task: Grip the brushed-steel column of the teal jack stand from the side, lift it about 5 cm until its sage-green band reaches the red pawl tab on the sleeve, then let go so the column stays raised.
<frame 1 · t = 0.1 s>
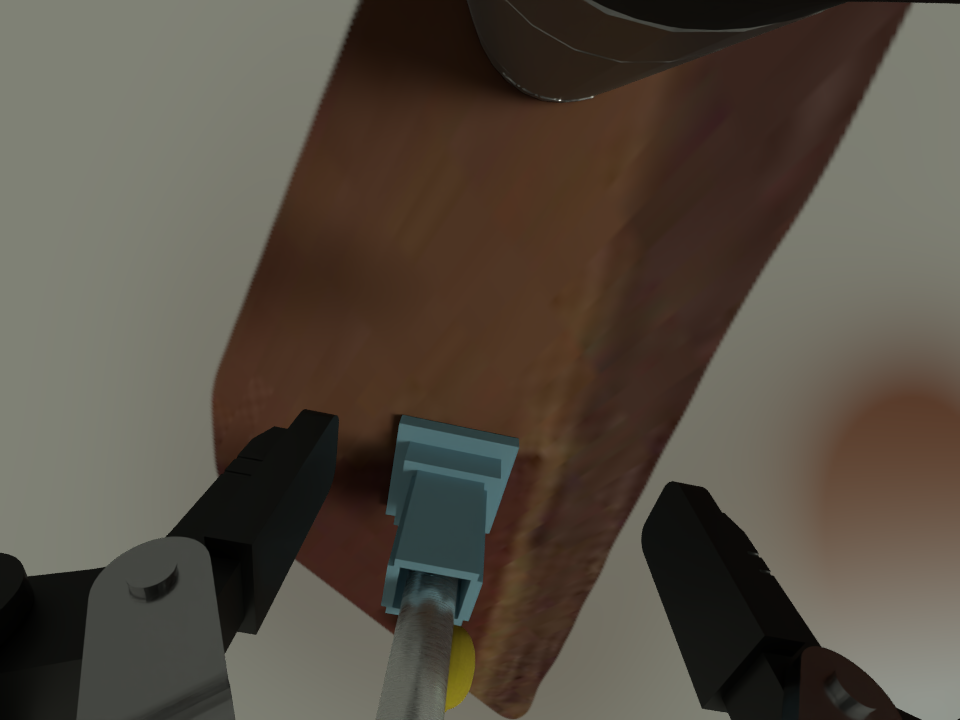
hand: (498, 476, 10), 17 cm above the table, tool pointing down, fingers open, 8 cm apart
lemon: (451, 618, 44), on the table
stand base: (449, 473, 34), on the table
column: (420, 657, 22), point 13 cm above the table, slide at 0.0 cm
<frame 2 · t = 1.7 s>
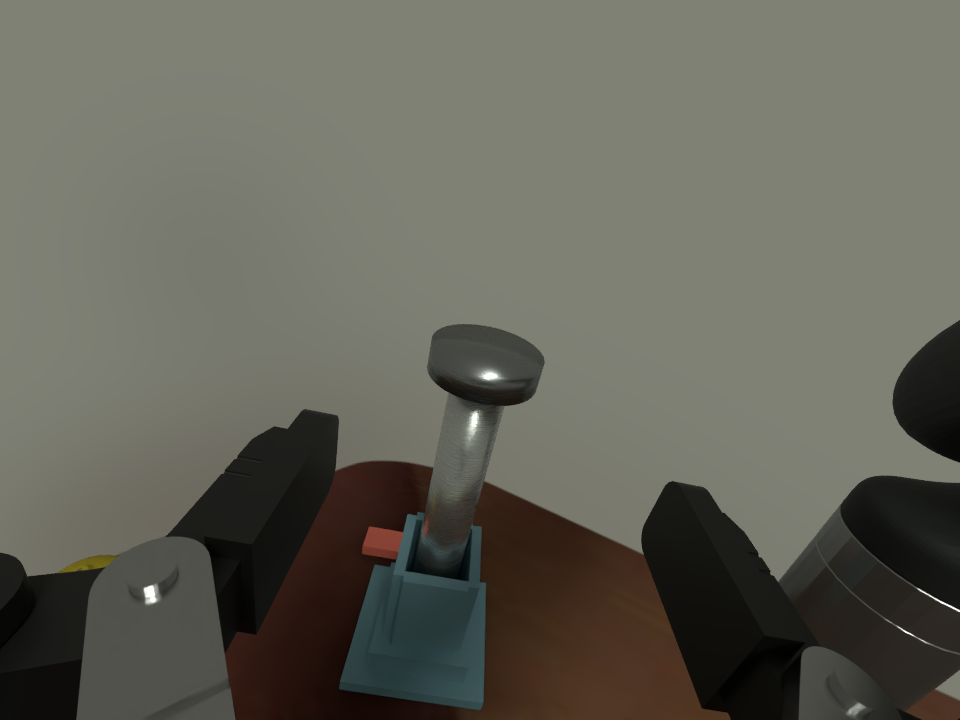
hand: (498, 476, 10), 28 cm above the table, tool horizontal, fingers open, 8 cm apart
lemon: (107, 648, 28), on the table
stand base: (421, 633, 33), on the table
column: (449, 513, 27), point 13 cm above the table, slide at 0.0 cm
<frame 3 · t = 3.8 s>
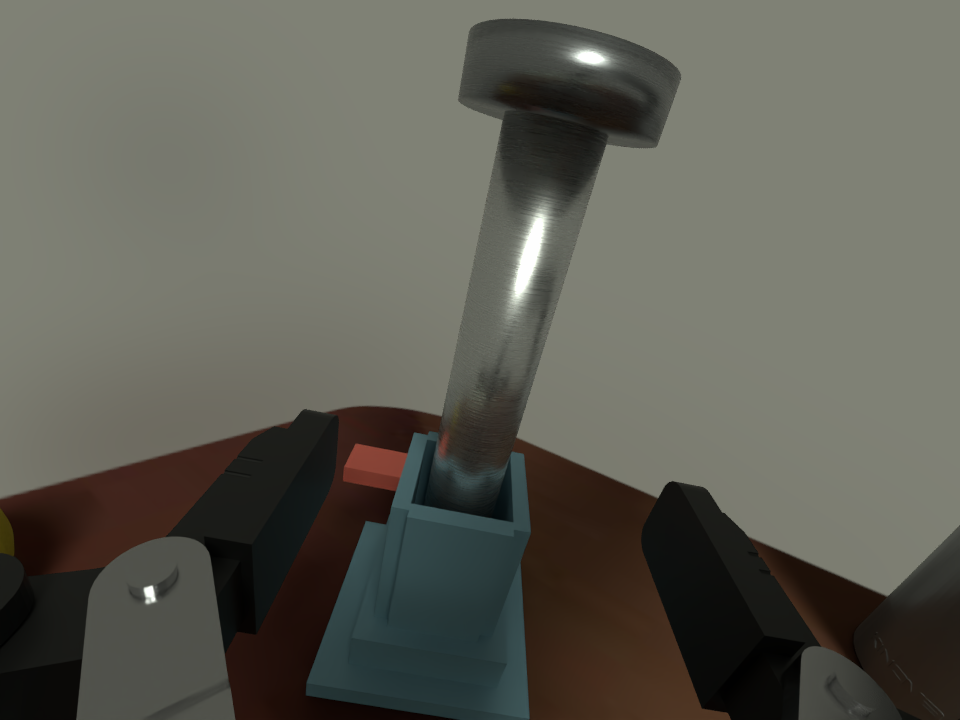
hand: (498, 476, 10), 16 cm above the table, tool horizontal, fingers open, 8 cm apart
stand base: (430, 614, 23), on the table
column: (482, 414, 17), point 13 cm above the table, slide at 0.0 cm
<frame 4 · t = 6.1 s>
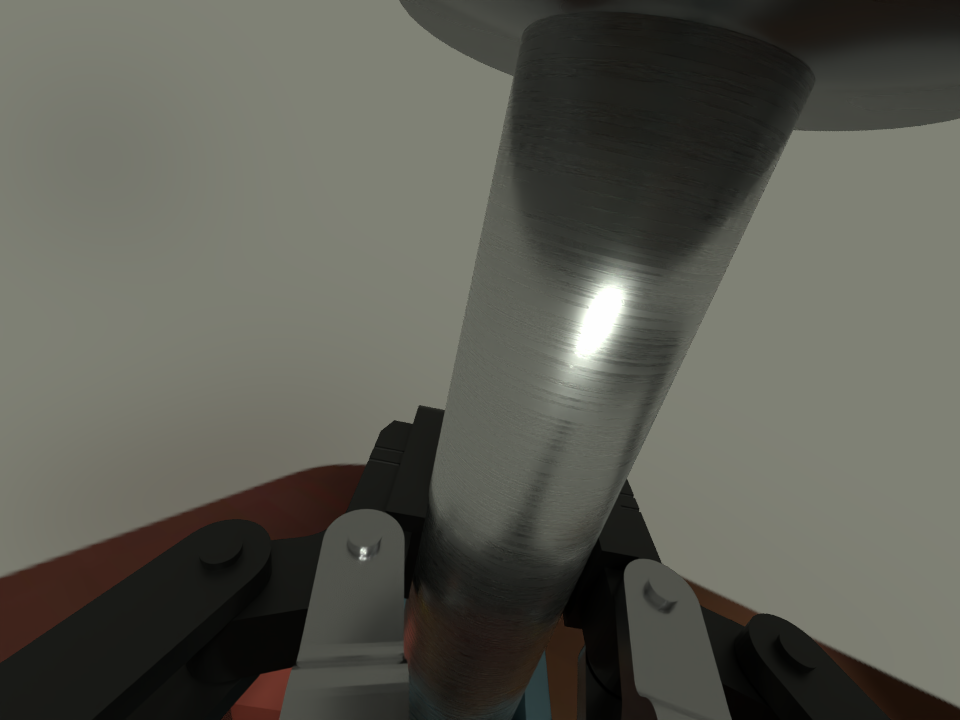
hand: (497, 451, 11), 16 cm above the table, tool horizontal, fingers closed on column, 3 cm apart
column: (473, 619, 9), point 13 cm above the table, slide at 0.0 cm, touching gripper
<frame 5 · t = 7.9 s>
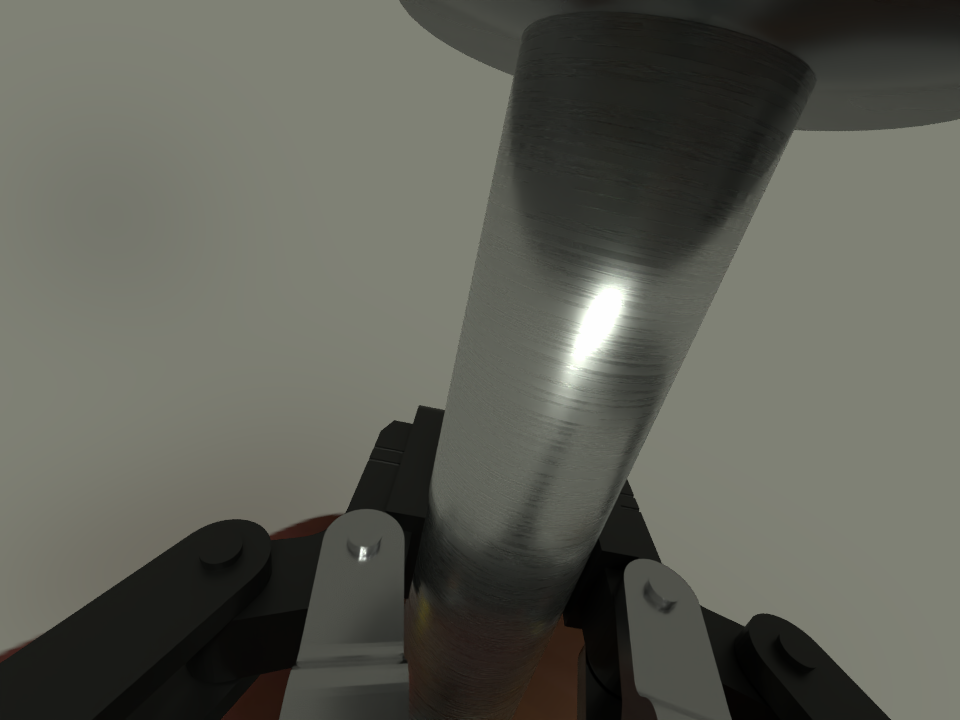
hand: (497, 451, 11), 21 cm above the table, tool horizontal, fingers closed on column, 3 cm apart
column: (473, 619, 9), point 19 cm above the table, slide at 5.3 cm, touching gripper
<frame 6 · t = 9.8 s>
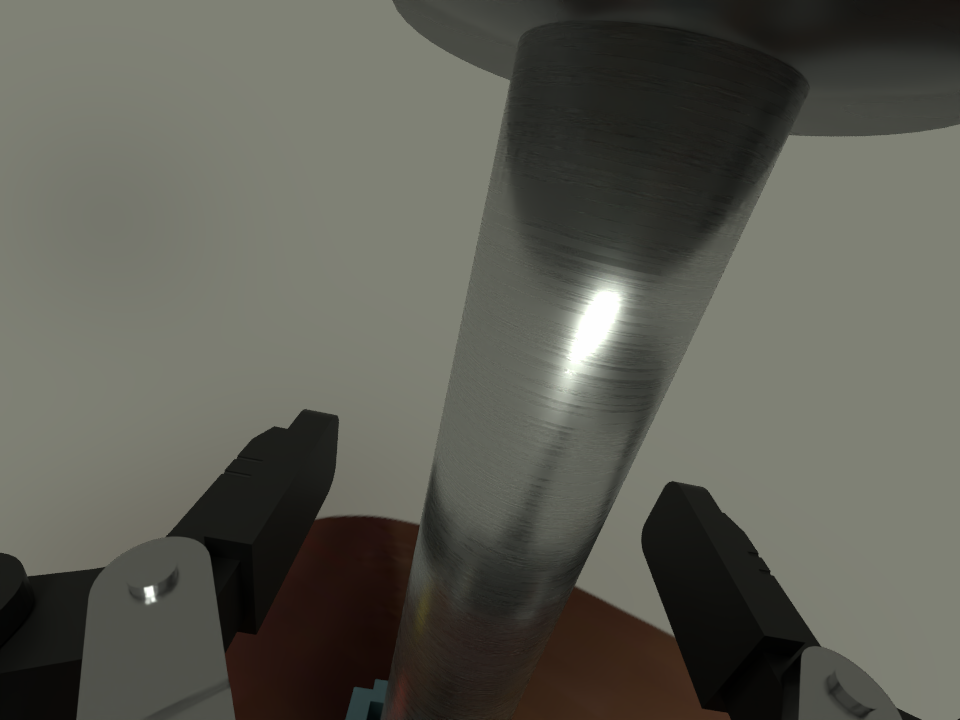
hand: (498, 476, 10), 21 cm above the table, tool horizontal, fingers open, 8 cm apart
column: (471, 622, 9), point 19 cm above the table, slide at 5.4 cm
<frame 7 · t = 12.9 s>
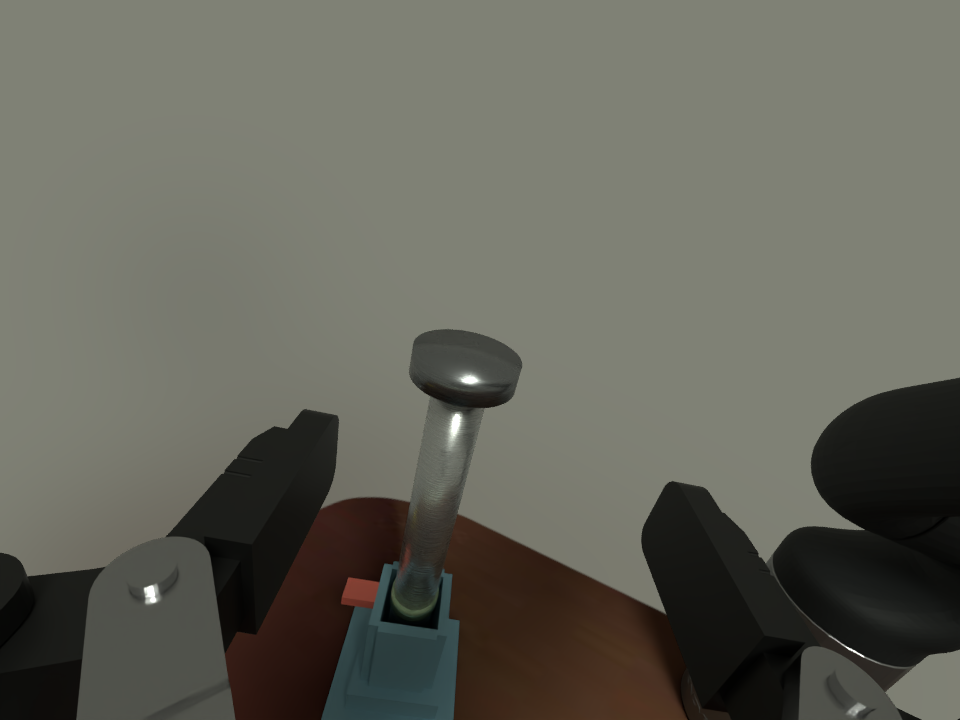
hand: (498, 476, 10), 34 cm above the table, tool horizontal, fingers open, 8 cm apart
stand base: (397, 671, 36), on the table
column: (432, 514, 28), point 19 cm above the table, slide at 5.4 cm
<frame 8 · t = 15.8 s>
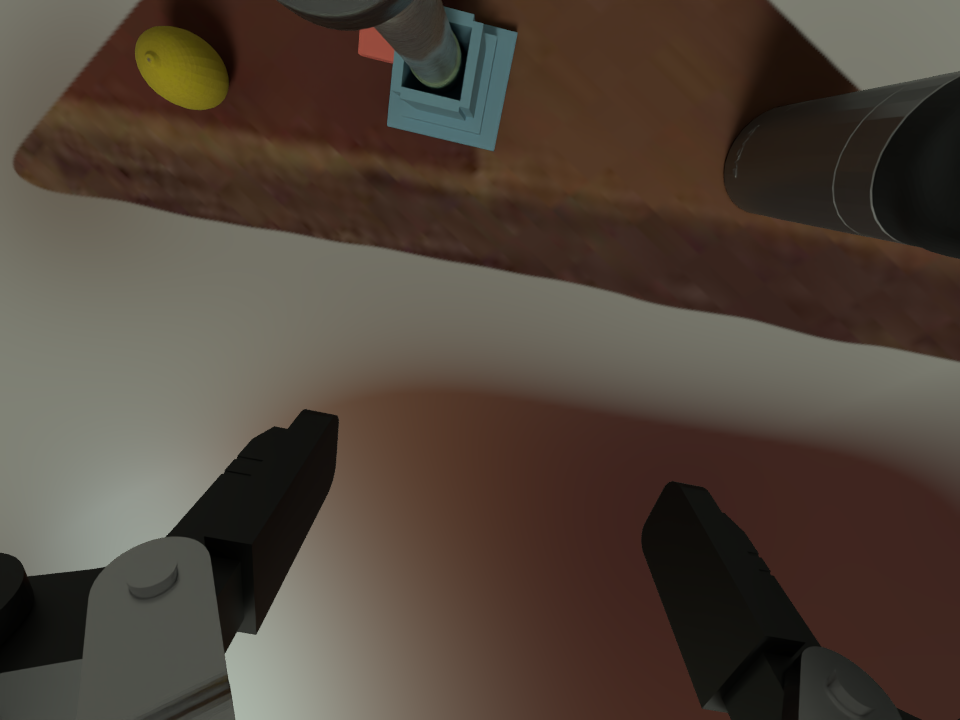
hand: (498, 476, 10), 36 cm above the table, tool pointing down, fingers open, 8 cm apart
lemon: (217, 79, 38), on the table
stand base: (450, 83, 37), on the table
column: (411, 16, 20), point 19 cm above the table, slide at 5.4 cm
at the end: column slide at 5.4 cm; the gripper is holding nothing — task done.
